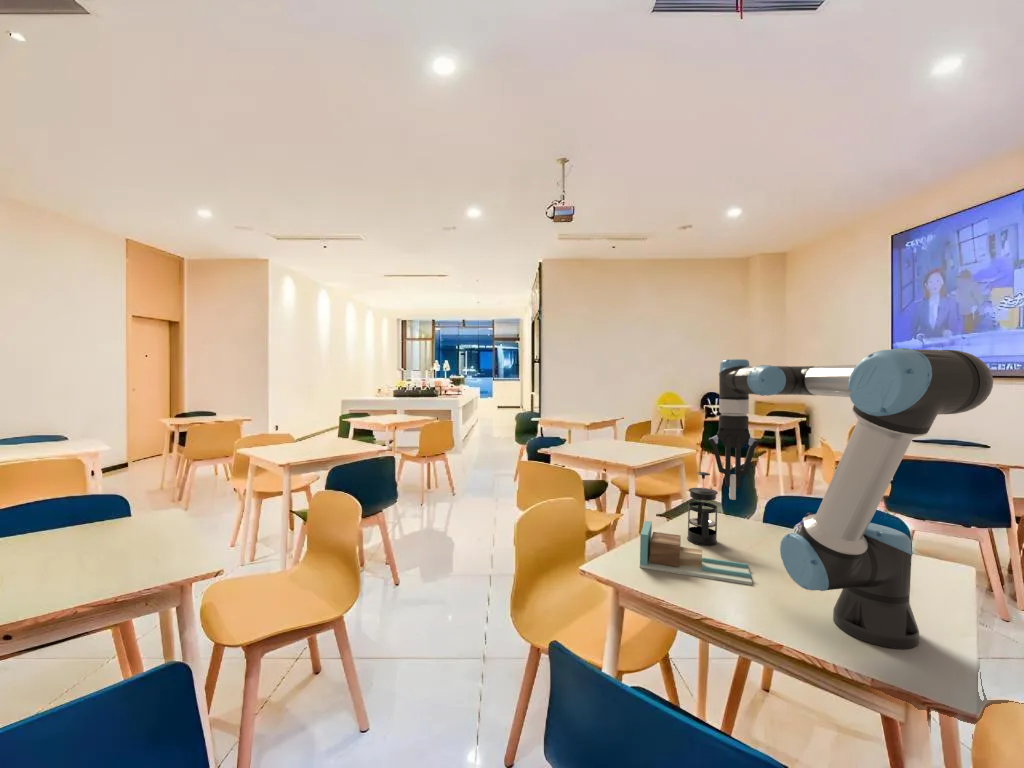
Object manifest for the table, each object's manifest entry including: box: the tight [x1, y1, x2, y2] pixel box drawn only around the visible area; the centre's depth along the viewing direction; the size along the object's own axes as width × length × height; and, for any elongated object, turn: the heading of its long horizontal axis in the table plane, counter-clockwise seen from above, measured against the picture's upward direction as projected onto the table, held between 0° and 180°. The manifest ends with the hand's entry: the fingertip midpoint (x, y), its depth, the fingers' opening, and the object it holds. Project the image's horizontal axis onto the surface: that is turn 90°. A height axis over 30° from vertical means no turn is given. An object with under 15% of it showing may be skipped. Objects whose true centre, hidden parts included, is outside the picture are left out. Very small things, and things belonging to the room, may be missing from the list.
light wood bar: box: [679, 546, 703, 568], centre depth 139 cm, size 4×12×4 cm, turn 68°
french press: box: [686, 471, 718, 547], centre depth 159 cm, size 12×9×23 cm
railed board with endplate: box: [639, 520, 753, 586], centre depth 138 cm, size 13×29×10 cm, turn 69°
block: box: [650, 531, 682, 567], centre depth 141 cm, size 9×8×6 cm
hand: (732, 498), depth 134 cm, fingers closed
